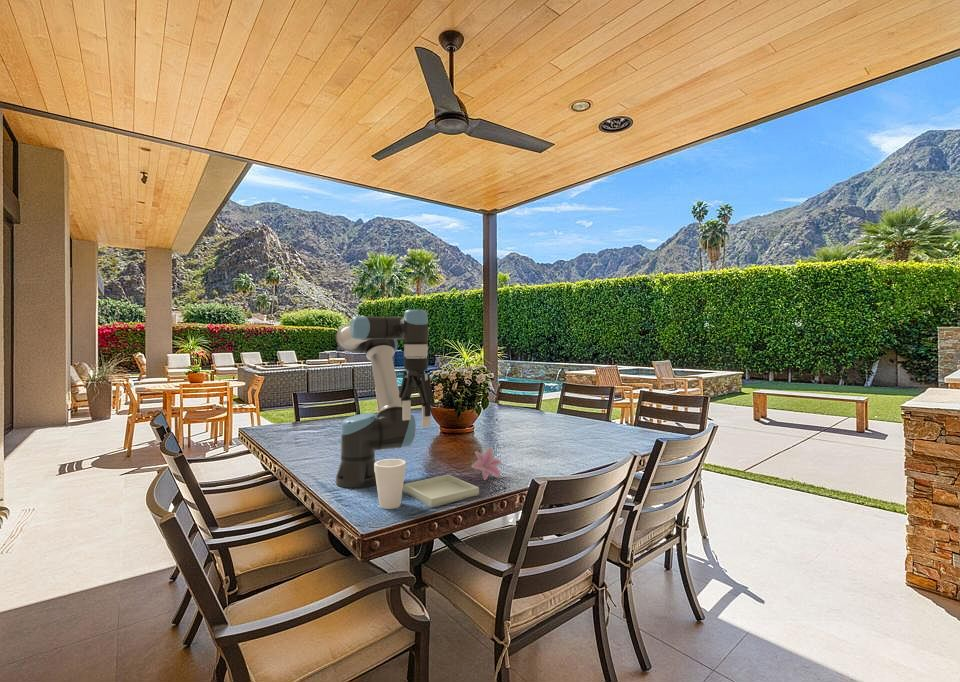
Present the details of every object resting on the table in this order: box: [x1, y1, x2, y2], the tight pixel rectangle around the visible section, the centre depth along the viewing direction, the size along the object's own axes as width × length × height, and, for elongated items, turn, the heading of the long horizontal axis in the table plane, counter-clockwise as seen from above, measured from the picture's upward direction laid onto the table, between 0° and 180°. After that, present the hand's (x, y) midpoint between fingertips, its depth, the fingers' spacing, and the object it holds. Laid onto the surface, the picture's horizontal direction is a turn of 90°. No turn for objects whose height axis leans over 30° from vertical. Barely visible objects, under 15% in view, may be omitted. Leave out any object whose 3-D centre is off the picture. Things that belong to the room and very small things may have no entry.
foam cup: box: [374, 458, 407, 510], centre depth 141 cm, size 10×9×13 cm
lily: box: [471, 446, 502, 481], centre depth 170 cm, size 12×12×10 cm
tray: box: [402, 474, 480, 508], centre depth 151 cm, size 18×18×2 cm
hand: (416, 423), depth 149 cm, fingers open, 13 cm apart
